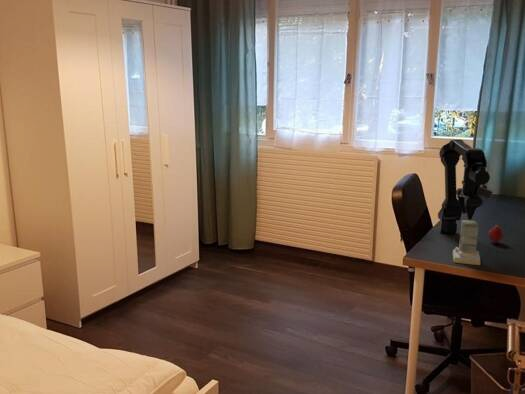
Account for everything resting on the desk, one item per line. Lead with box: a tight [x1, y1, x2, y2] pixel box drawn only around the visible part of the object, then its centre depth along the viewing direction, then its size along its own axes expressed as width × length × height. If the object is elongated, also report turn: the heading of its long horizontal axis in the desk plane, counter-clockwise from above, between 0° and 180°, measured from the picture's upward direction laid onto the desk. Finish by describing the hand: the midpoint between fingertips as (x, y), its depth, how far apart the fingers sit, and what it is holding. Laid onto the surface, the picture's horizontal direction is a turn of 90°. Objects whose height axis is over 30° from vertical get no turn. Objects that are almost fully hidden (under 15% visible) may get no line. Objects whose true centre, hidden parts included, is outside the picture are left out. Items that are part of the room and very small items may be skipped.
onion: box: [488, 224, 504, 244], centre depth 209 cm, size 6×6×8 cm
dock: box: [452, 248, 481, 266], centre depth 191 cm, size 9×10×2 cm
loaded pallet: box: [454, 219, 480, 258], centre depth 189 cm, size 7×7×13 cm
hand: (466, 216), depth 203 cm, fingers open, 9 cm apart
